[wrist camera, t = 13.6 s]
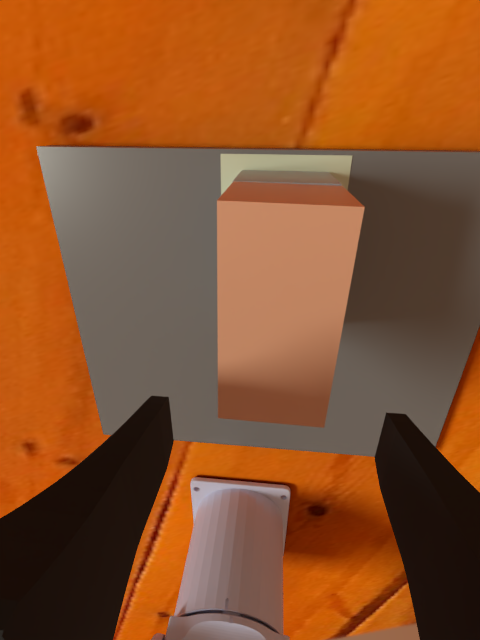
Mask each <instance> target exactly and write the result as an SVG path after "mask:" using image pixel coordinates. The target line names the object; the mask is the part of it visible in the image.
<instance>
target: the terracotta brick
mask: <svg viewBox="0 0 480 640" xmlns="http://www.w3.org/2000/svg"><path fill="white" fill-rule="evenodd" d="M364 208H365V207H364V206H363V205H362V204H361V203H360V202H359V201H358V200H357V199H356V198H355V197H354V196H353V195H352V194H351V193H349V192H348V191H347V190H346V189H345V188H344V187H343V186H336V185H311V184H287V183H262V182H237V181H233V183H232V184H231V185H230V186H229V187H228V188H227V189H226V191H225V192H224V193H223V194H222V195H221V196H220V198H219V199H218V200H217V314H218V418H222V419H233V420H244V421H255V422H266V423H277V424H288V425H299V426H310V427H322V428H324V426H325V421H326V415H327V410H328V404H329V399H330V394H331V388H332V383H333V377H334V372H335V366H336V361H337V355H338V350H339V344H340V339H341V334H342V328H343V323H344V317H345V312H346V306H347V301H348V295H349V290H350V284H351V279H352V274H353V268H354V263H355V257H356V252H357V246H358V241H359V235H360V230H361V224H362V219H363V214H364Z"/></svg>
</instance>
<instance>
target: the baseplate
mask: <svg viewBox="0 0 480 640" xmlns="http://www.w3.org/2000/svg"><path fill="white" fill-rule="evenodd" d="M37 152H38V156H39V160H40V165H41V169H42V173H43V177H44V182H45V186H46V190H47V194H48V199H49V203H50V207H51V212H52V216H53V220H54V224H55V229H56V233H57V237H58V241H59V246H60V250H61V254H62V259H63V263H64V267H65V271H66V276H67V280H68V284H69V288H70V293H71V297H72V301H73V306H74V310H75V314H76V318H77V323H78V327H79V331H80V336H81V340H82V344H83V348H84V353H85V357H86V361H87V365H88V370H89V374H90V378H91V383H92V387H93V391H94V395H95V400H96V404H97V408H98V412H99V417H100V421H101V425H102V430H103V434H107V435H112V434H113V433H114V432H115V431H117V430H118V429H119V428H120V427H121V426H122V425H123V424H124V423H125V422H126V421H127V420H128V419H129V418H130V417H131V416H132V415H133V414H134V413H135V412H136V411H137V410H138V408H139V407H140V406H141V405H142V404H143V403H144V402H145V401H146V400H147V399H148V398H149V397H151V396H163V397H169V403H170V412H171V421H172V430H173V439H174V440H180V441H192V442H204V443H216V444H228V445H240V446H253V447H265V448H277V449H289V450H301V451H313V452H325V453H338V454H350V455H362V456H374V457H375V454H376V450H377V446H378V442H379V438H380V435H381V431H382V427H383V423H384V419H385V415H386V413H399V414H406V415H407V416H408V417H409V418H410V419H411V420H412V422H413V423H414V424H415V425H416V426H417V427H418V428H419V429H420V431H421V432H422V433H423V434H424V435H425V436H426V437H427V438H428V440H429V441H430V442H431V443H432V444H433V445H434V446H435V447H436V444H437V441H438V438H439V436H440V433H441V430H442V428H443V425H444V422H445V419H446V417H447V414H448V411H449V408H450V406H451V403H452V400H453V397H454V395H455V392H456V389H457V387H458V384H459V381H460V378H461V376H462V373H463V370H464V367H465V365H466V362H467V359H468V356H469V354H470V351H471V348H472V346H473V343H474V340H475V337H476V335H477V332H478V329H479V326H480V151H451V150H371V149H292V148H213V147H134V146H54V145H50V146H37ZM242 170H269V171H312V172H329V173H330V174H331V175H332V176H334V177H335V178H336V179H337V180H338V181H339V182H340V183H341V186H343V187H344V188H345V189H346V190H347V191H348V192H349V193H351V194H352V195H353V196H354V197H355V198H356V199H357V200H358V201H359V202H360V203H361V204H362V205H363V206H364V207H365V208H364V214H363V219H362V224H361V230H360V235H359V241H358V246H357V252H356V257H355V263H354V268H353V274H352V279H351V284H350V290H349V295H348V301H347V306H346V312H345V317H344V323H343V328H342V334H341V339H340V344H339V350H338V355H337V361H336V366H335V372H334V377H333V383H332V388H331V394H330V399H329V404H328V410H327V415H326V421H325V426H324V428H322V427H310V426H299V425H288V424H277V423H266V422H255V421H244V420H233V419H222V418H218V314H217V200H218V199H219V198H220V196H221V195H222V194H223V193H224V192H225V191H226V189H227V188H228V187H229V186H230V185H231V184H232V181H233V180H234V179H235V178H236V176H237V175H238V174H239V173H240V172H241V171H242Z"/></svg>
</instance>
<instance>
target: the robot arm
mask: <svg viewBox="0 0 480 640" xmlns="http://www.w3.org/2000/svg"><path fill="white" fill-rule="evenodd" d="M173 441H174V439H173V430H172V421H171V412H170V403H169V397H163V396H151V397H149V398H148V399H147V400H146V401H145V402H144V403H143V404H142V405H141V406H140V407H139V408H138V410H137V411H136V412H135V413H134V414H133V415H132V416H131V417H130V418H129V419H128V420H127V421H126V422H125V423H124V424H123V425H122V426H121V427H120V428H119V429H118V430H117V431H115V432H114V433H113V434H112V435H111V436H110V437H109V438H108V439H107V440H106V441H105V442H104V443H103V444H102V445H101V446H99V447H98V448H97V449H96V450H95V451H94V452H93V453H91V454H90V455H89V456H88V457H87V458H86V459H85V460H83V461H82V462H81V463H80V464H79V465H77V466H76V467H75V468H74V469H72V470H71V471H70V472H69V473H67V474H66V475H65V476H63V477H62V478H61V479H59V480H58V481H57V482H55V483H54V484H53V485H51V486H50V487H48V488H47V489H46V490H44V491H43V492H41V493H40V494H38V495H37V496H35V497H34V498H32V499H31V500H29V501H28V502H26V503H25V504H23V505H22V506H20V507H19V508H17V509H15V510H14V511H12V512H10V513H9V514H7V515H5V516H4V517H2V518H0V640H113V637H114V633H115V629H116V625H117V621H118V617H119V613H120V609H121V606H122V602H123V598H124V594H125V591H126V587H127V583H128V579H129V576H130V572H131V569H132V565H133V561H134V558H135V554H136V551H137V548H138V545H139V542H140V539H141V536H142V533H143V530H144V528H145V525H146V522H147V520H148V517H149V514H150V512H151V509H152V507H153V504H154V501H155V499H156V496H157V493H158V491H159V488H160V485H161V483H162V480H163V477H164V475H165V472H166V469H167V466H168V462H169V458H170V454H171V450H172V445H173ZM375 462H376V468H377V474H378V479H379V485H380V489H381V493H382V496H383V499H384V503H385V506H386V509H387V512H388V516H389V519H390V522H391V525H392V529H393V532H394V535H395V538H396V541H397V545H398V548H399V551H400V554H401V557H402V561H403V564H404V568H405V572H406V575H407V579H408V584H409V589H410V593H411V598H412V603H413V607H414V612H415V617H416V622H417V627H418V632H419V637H420V640H480V493H479V492H478V491H477V490H476V489H475V488H474V487H473V486H472V485H471V484H470V483H469V482H468V481H467V480H466V479H465V478H464V477H463V476H462V475H461V474H460V473H459V472H458V471H457V470H456V469H455V468H454V467H453V466H452V465H451V464H450V462H449V461H448V460H447V459H446V458H445V457H444V456H443V455H442V454H441V453H440V452H439V451H438V450H437V448H436V447H435V446H434V445H433V444H432V443H431V442H430V441H429V440H428V438H427V437H426V436H425V435H424V434H423V433H422V432H421V431H420V429H419V428H418V427H417V426H416V425H415V424H414V423H413V422H412V420H411V419H410V418H409V417H408V416H407V415H406V414H399V413H386V415H385V419H384V423H383V427H382V431H381V435H380V438H379V442H378V446H377V450H376V454H375ZM191 496H192V507H193V519H194V527H193V532H192V536H191V541H190V546H189V550H188V555H187V559H186V564H185V568H184V573H183V578H182V582H181V587H180V591H179V596H178V601H177V605H176V610H175V614H174V616H170V619H169V623H168V628H167V632H166V637H165V635H164V634H160V633H156V634H155V635H154V636H153V638H152V639H151V640H289V636H286V635H283V556H284V547H285V538H286V529H287V520H288V511H289V502H290V488H289V487H288V486H286V485H278V484H267V483H256V482H244V481H233V480H222V479H211V478H200V477H195V478H193V479H192V480H191Z"/></svg>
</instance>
